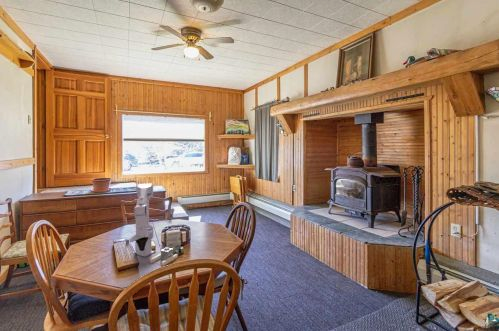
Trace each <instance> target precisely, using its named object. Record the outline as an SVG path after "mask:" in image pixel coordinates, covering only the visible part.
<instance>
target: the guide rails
mask: <svg viewBox="0 0 499 331" xmlns="http://www.w3.org/2000/svg"><path fill="white" fill-rule="evenodd" d="M178 256H179V255H178V254H175V255H173V256H171V257H169V258H167V259H166V260H164V261H162V260H161V253H159V254H157V255H156V256H153V257H151V258H150V259H149V260H150V261H149V262H150V263H151V264H154V263H155V262H157V261H158V260H161V266H163V267H164V266H167V264H169V263H170V262H172V261H174V260H176V259H178Z"/></svg>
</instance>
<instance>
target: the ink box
mask: <svg viewBox="0 0 499 331" xmlns="http://www.w3.org/2000/svg"><path fill="white" fill-rule="evenodd" d="M165 234H166V236H165V237H166V238H165V239H166V243H165V244H166V247H167V248H173V247H175V246H178V245H180V246H181V247H182V243H181V242H182V241H181V240H182V237H181V230H180V229H173V230H166V231H165Z"/></svg>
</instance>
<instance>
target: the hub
mask: <svg viewBox="0 0 499 331" xmlns="http://www.w3.org/2000/svg"><path fill="white" fill-rule="evenodd" d="M160 254H161V258H160V261H161V262H162V261H164V260H166V259H167V258H169V257H171V256H173V248H167V246H165V248H163V249H160Z"/></svg>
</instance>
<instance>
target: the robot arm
mask: <svg viewBox="0 0 499 331" xmlns="http://www.w3.org/2000/svg"><path fill="white" fill-rule="evenodd" d="M135 192H136V196H137V199H136V204H135V206H134V207H133V209H134V210H133V214H134V220H135V234H134V235H133V236H131V237H130V238H129V243H134V242H135V243H134V246H135V247H134V250H135V251H134V253H136V254H137V256H140V257H141V256H142V257H147V256H150V255H151V254H153V253H156V251H155V250H152V240H153V238H154V226H153V225H152V224H150V223H149V222H150V198H153V196H154V184H153V183H152V182H151V183H136V185H135ZM136 254H135V255H136Z"/></svg>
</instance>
